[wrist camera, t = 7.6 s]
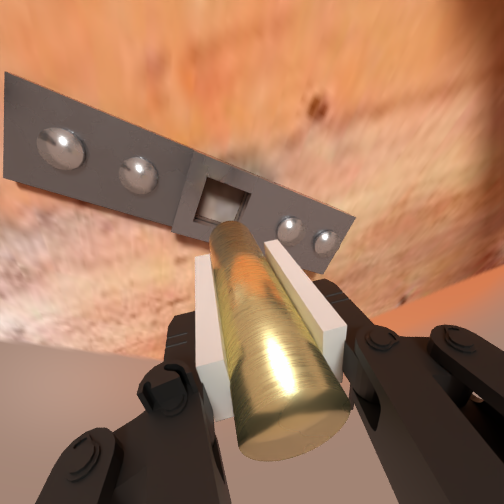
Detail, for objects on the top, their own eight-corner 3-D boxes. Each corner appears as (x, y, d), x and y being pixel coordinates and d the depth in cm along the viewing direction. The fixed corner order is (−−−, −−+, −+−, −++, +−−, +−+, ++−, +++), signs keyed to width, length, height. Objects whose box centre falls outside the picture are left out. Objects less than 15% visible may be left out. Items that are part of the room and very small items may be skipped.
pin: (204, 225, 15) (227, 412, 5) (248, 216, 16) (355, 373, 5) (213, 264, 17) (246, 473, 6) (254, 255, 17) (347, 438, 7)
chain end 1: (266, 179, 26) (270, 181, 24) (240, 242, 28) (242, 249, 27) (15, 75, 18) (-2, 69, 16) (12, 175, 21) (-2, 179, 19)
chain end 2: (173, 222, 26) (170, 234, 23) (194, 149, 23) (194, 151, 20) (313, 264, 32) (325, 277, 29) (343, 210, 29) (359, 219, 27)
